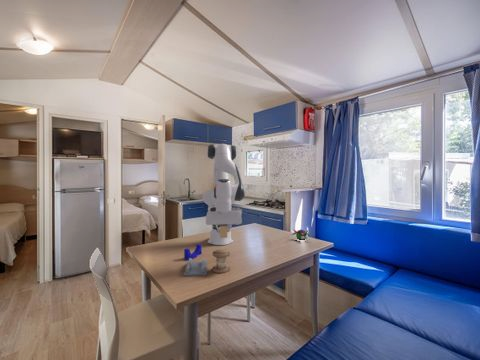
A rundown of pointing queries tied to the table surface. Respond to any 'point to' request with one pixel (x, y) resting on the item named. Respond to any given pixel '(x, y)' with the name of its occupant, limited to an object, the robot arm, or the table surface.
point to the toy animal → (301, 234)
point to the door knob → (221, 261)
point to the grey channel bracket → (196, 268)
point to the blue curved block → (195, 253)
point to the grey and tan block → (223, 231)
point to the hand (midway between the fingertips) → (223, 232)
